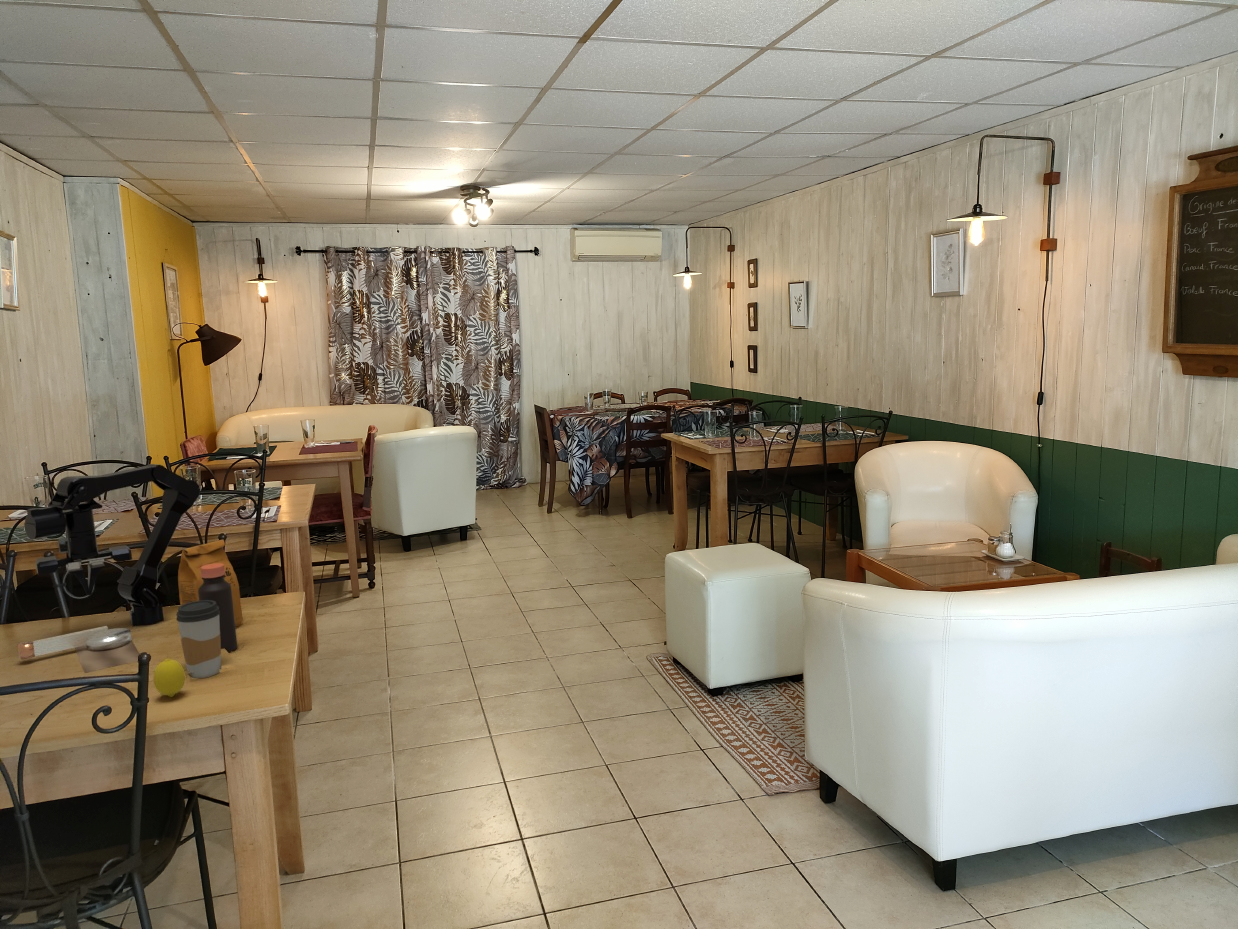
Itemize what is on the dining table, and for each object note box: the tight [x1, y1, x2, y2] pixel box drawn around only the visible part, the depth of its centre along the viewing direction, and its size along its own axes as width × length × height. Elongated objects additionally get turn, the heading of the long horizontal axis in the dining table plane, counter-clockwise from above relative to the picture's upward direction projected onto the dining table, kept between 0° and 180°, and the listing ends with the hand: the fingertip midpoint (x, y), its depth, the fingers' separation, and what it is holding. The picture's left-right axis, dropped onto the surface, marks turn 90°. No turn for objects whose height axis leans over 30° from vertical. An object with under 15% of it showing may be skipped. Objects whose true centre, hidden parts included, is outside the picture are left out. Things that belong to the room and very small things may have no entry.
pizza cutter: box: [17, 625, 132, 660], centre depth 192 cm, size 9×22×4 cm, turn 130°
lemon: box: [153, 658, 186, 698], centre depth 169 cm, size 6×6×8 cm
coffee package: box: [177, 539, 244, 628], centre depth 206 cm, size 10×12×22 cm
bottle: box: [198, 563, 238, 654], centre depth 193 cm, size 7×7×20 cm
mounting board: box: [74, 639, 141, 674], centre depth 192 cm, size 11×25×2 cm, turn 38°
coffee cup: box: [175, 600, 222, 679], centre depth 180 cm, size 8×8×15 cm
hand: (89, 594), depth 199 cm, fingers closed
